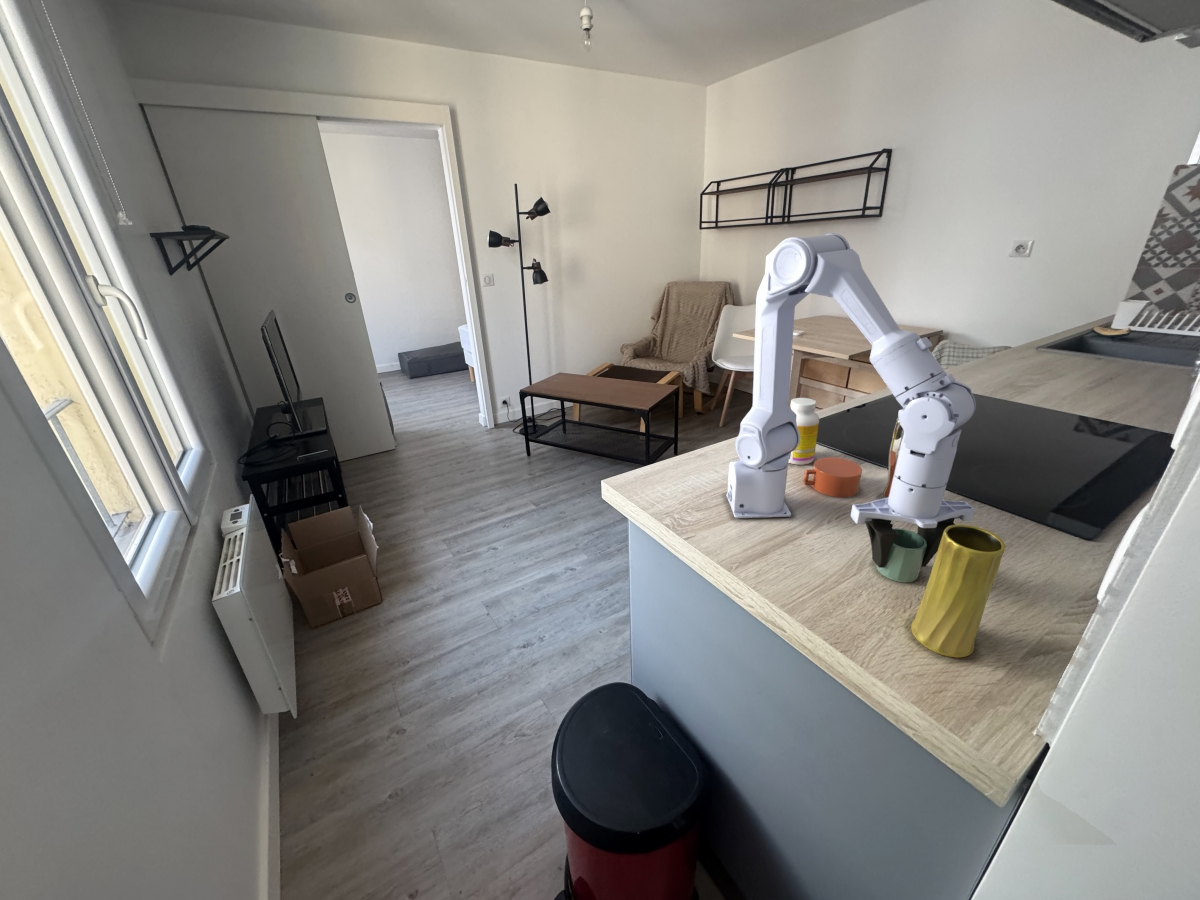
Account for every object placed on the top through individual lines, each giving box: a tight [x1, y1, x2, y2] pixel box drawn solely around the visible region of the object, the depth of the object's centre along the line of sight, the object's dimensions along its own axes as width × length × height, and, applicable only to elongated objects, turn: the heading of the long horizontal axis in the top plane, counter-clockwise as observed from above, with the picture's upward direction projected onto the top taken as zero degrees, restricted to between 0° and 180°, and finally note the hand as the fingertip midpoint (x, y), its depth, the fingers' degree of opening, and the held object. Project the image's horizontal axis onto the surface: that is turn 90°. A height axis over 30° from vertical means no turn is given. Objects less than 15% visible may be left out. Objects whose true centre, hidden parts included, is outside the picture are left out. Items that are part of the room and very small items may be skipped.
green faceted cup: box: [875, 527, 927, 583], centre depth 65 cm, size 5×5×6 cm
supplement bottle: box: [788, 397, 820, 466], centre depth 96 cm, size 7×7×13 cm
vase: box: [910, 524, 1006, 659], centre depth 52 cm, size 6×6×14 cm
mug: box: [802, 456, 863, 498], centre depth 87 cm, size 10×8×4 cm
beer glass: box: [880, 416, 904, 499], centre depth 78 cm, size 7×7×15 cm
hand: (898, 562), depth 65 cm, fingers closed on green faceted cup, 5 cm apart
